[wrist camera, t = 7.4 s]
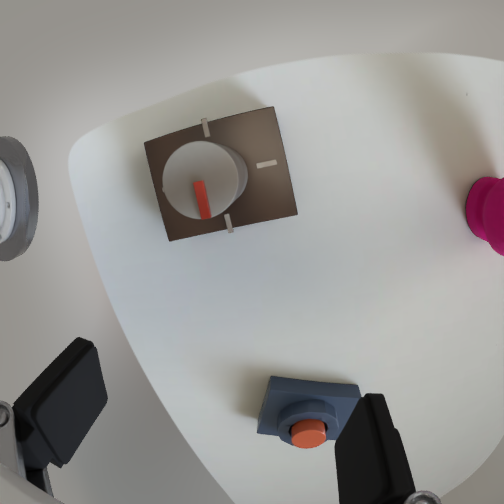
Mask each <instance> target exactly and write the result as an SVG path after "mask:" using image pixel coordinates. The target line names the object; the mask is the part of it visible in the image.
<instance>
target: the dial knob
mask: <svg viewBox="0 0 504 504" xmlns="http://www.w3.org/2000/svg"><path fill="white" fill-rule="evenodd" d="M162 180H163V189H164V193H165V195H166V198H167V199H168V201H169V203H170V204H171V205H172V207H173V208H175V209H176V210H177V211H178V212H179V213H181V214H183V215H185V216H187V217H190V218H194V219H202V220H203V219H208V218H211V217H214V216H217V215H218V214H220V213H222V212H223V211H224V210H226V209H227V208H228V207H229V206H230V205H231V204H232V203H233V202H234V201H235V200H236V199H237V198H238V197H239V196H240V195H241V194H242V193H243V191H244V189H245V187H246V184H247V180H248V171H247V166H246V164H245V161H244V160H243V158H242V157H241V155H240V154H239V153H238V152H236V151H235V150H234V149H232V148H230V147H227V146H224V145H220V144H216V143H212V142H207V141H195V142H190V143H187V144H185V145H183V146H181V147H180V148H178V149H177V150H176V151H175V152H174V153H173V154H172V155H171V156H170V158H169V159H168V161H167V163H166V165H165V168H164V171H163V179H162Z"/></svg>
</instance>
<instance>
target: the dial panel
mask: <svg viewBox="0 0 504 504" xmlns="http://www.w3.org/2000/svg"><path fill="white" fill-rule="evenodd" d="M201 121H202V124H199V125H196V126H192V127H189V128H186V129H183V130H179V131H176V132H173V133H170V134H167V135H164V136H161V137H158V138H155V139H153V140H150V141H147V142H144V146H145V151H146V155H147V159H148V164H149V168H150V172H151V176H152V180H153V184H154V188H155V192H156V196H157V200H158V203H159V207H160V211H161V214H162V218H163V222H164V225H165V229H166V232H167V236H168V239H169V241H174V240H179V239H183V238H188V237H192V236H197V235H201V234H206V233H211V232H215V231H220V230H225V229H228V233H233V228H234V227H239V226H244V225H249V224H254V223H259V222H264V221H269V220H274V219H279V218H284V217H289V216H294V215H298V213H297V208H296V203H295V198H294V193H293V188H292V184H291V179H290V174H289V169H288V165H287V160H286V156H285V151H284V147H283V143H282V138H281V134H280V130H279V126H278V122H277V117H276V113H275V109H274V107H273V106H272V107H267V108H263V109H258V110H253V111H249V112H245V113H241V114H236V115H232V116H228V117H225V118H221V119H217V120H213V121H210V122H207V119H206V118H204V119H201ZM195 141H207V142H212V143H216V144H220V145H224V146H227V147H230V148H232V149H234V150H235V151H236V152H238V153H239V154H240V155H241V157H242V158H243V160H244V161H245V164H246V166H247V171H248V180H247V184H246V187H245V189H244V191H243V193H242V194H241V195H240V196H239V197H238V198H237V199H236V200H235V201H234V202H233V203H232V204H231V205H230V206H229V207H228V208H227V209H226V210H224V211H223V212H222V213H220V214H218V215H217V216H214V217H211V218H208V219H203V220H202V219H194V218H190V217H187V216H185V215H183V214H181V213H179V212H178V211H177V210H176V209H175V208H173V207H172V205H171V204H170V203H169V201H168V199H167V198H166V195H165V193H164V189H163V180H162V179H163V171H164V168H165V165H166V163H167V161H168V159H169V158H170V156H171V155H172V154H173V153H174V152H175V151H176V150H177V149H178V148H180V147H181V146H183V145H185V144H187V143H190V142H195Z"/></svg>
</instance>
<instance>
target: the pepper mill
mask: <svg viewBox="0 0 504 504" xmlns="http://www.w3.org/2000/svg"><path fill="white" fill-rule="evenodd" d="M466 216H467V221H468V224H469V227H470V229H471V231H472V232H473V233H474V234H475V235H476V236H477V237H479V238H481V239H483V240H485V241H487V242H489V244H490V245H491V247H492V248H493V249H494V250H495V251H496V252H497V253H499V254H500V255H503V256H504V178H502V179H498V178H493V177H483V178H481V179H479V180H478V181H477V182H476V183H475V184H474V185H473V187H472V188H471V190H470V192H469V195H468V198H467V204H466Z"/></svg>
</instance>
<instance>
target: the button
mask: <svg viewBox="0 0 504 504" xmlns="http://www.w3.org/2000/svg"><path fill="white" fill-rule="evenodd" d="M325 439H326V432H325V425H324V423H323V422H322V421H321V420H318V419H305V420H301V421H298V422H296V423H295V424H293V426H292V428H291V441H292V443H293V445H295V446H296V447H299V448H313V447H317V446H319V445H321V444H322V443H323V442H324V441H325Z"/></svg>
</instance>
